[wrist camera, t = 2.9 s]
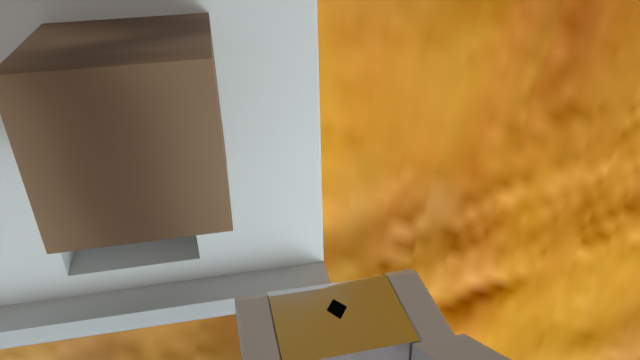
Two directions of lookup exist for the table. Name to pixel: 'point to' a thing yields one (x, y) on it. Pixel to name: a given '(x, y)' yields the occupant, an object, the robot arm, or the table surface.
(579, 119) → the table surface
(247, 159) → the platform
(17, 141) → the walnut block
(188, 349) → the table surface
